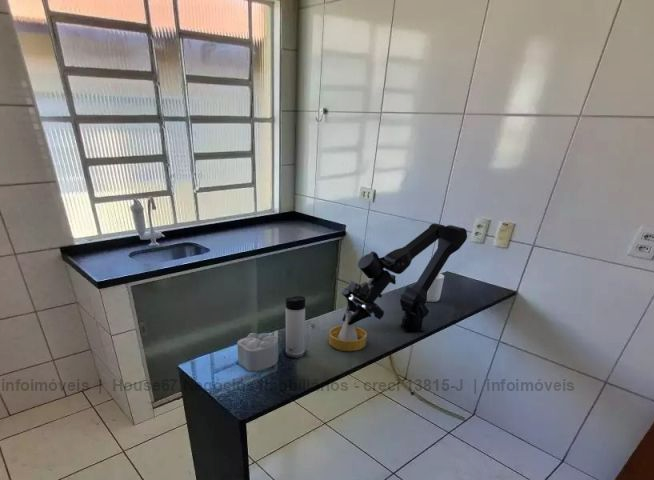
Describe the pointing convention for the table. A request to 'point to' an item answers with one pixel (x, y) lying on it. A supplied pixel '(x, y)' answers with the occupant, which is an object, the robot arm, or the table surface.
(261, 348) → the lumpy-topped squat cylinder
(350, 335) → the flask
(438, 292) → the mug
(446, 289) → the table surface
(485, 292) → the table surface
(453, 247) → the robot arm
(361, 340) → the bowl
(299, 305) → the travel mug
